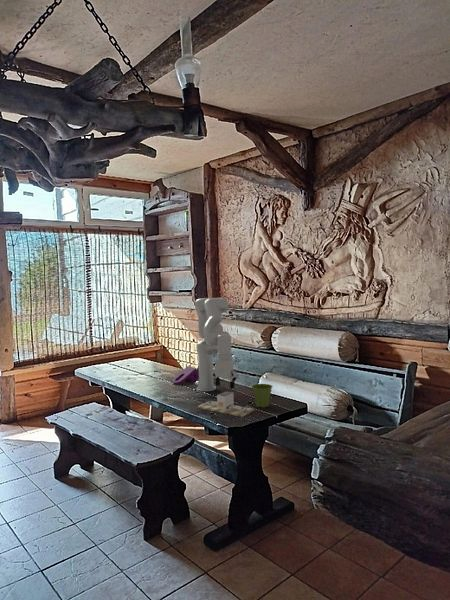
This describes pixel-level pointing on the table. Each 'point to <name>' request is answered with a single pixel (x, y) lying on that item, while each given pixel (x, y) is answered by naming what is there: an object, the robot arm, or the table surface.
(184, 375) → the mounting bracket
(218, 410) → the rail board
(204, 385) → the robot arm
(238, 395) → the table surface
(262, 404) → the plant pot
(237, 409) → the rail
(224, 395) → the box
